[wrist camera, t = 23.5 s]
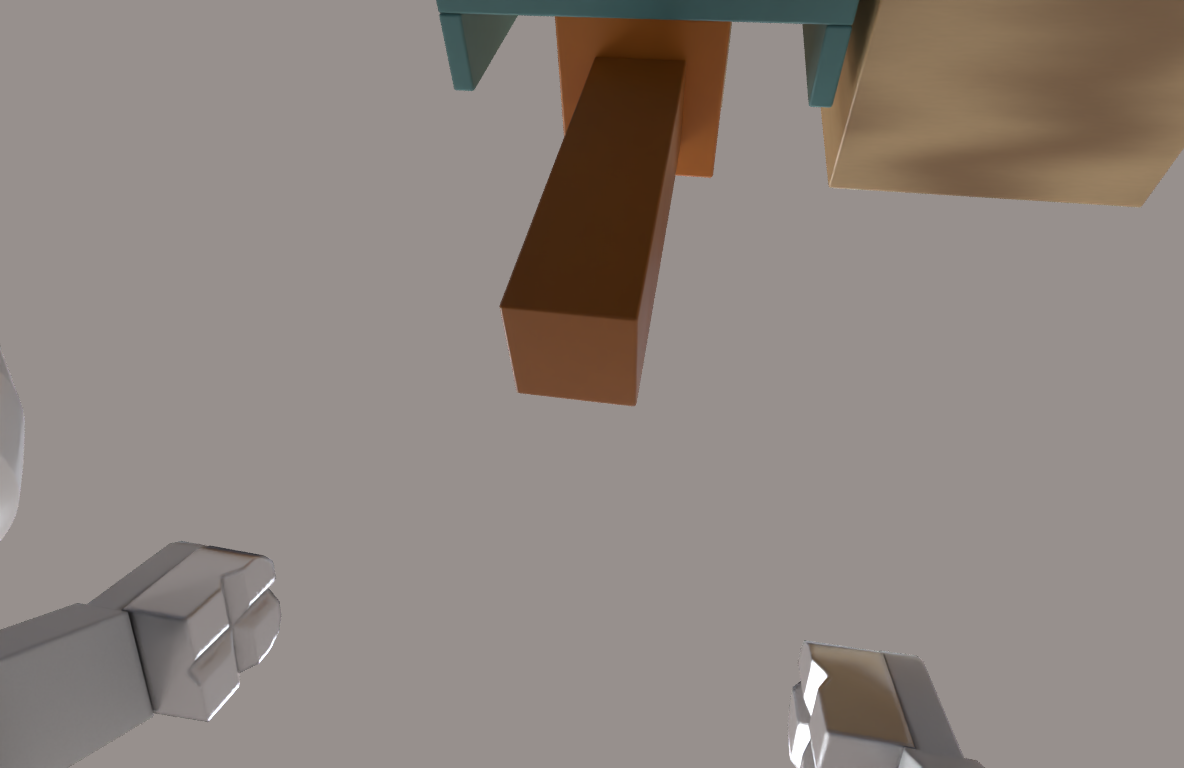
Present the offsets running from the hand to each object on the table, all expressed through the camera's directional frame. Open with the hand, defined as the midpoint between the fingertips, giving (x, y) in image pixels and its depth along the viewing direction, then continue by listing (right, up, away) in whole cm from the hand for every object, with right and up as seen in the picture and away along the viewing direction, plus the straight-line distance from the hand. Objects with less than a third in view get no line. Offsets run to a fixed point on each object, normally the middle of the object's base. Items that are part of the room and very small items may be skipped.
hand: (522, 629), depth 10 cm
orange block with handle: (+3, +14, +7) cm, 16 cm away
